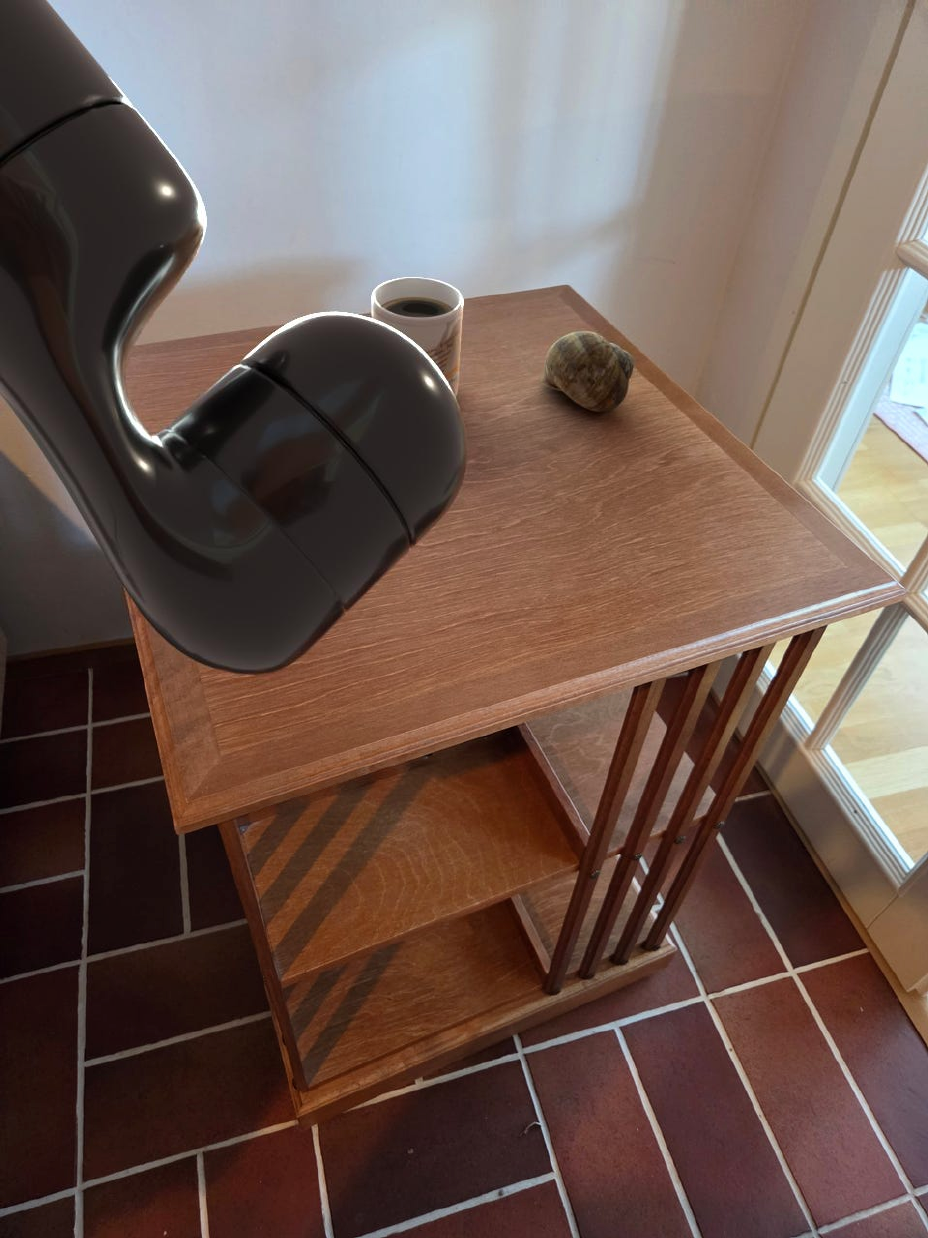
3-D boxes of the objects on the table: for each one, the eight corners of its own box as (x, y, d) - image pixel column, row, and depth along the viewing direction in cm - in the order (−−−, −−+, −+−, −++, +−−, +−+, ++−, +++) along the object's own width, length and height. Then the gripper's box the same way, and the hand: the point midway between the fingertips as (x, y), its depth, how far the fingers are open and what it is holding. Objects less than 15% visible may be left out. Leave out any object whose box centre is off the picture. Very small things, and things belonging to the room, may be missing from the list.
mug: (353, 398, 94) (349, 304, 86) (396, 350, 102) (396, 260, 94) (439, 420, 92) (443, 326, 84) (476, 370, 100) (483, 280, 92)
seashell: (638, 419, 95) (654, 355, 89) (562, 428, 93) (573, 363, 87) (599, 369, 102) (611, 306, 96) (528, 376, 100) (536, 313, 94)
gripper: (397, 443, 41) (348, 492, 57) (87, 485, 37) (129, 525, 53) (424, 592, 42) (369, 599, 58) (121, 650, 38) (152, 640, 54)
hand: (253, 563), depth 55 cm, fingers closed on pill bottle, 6 cm apart
